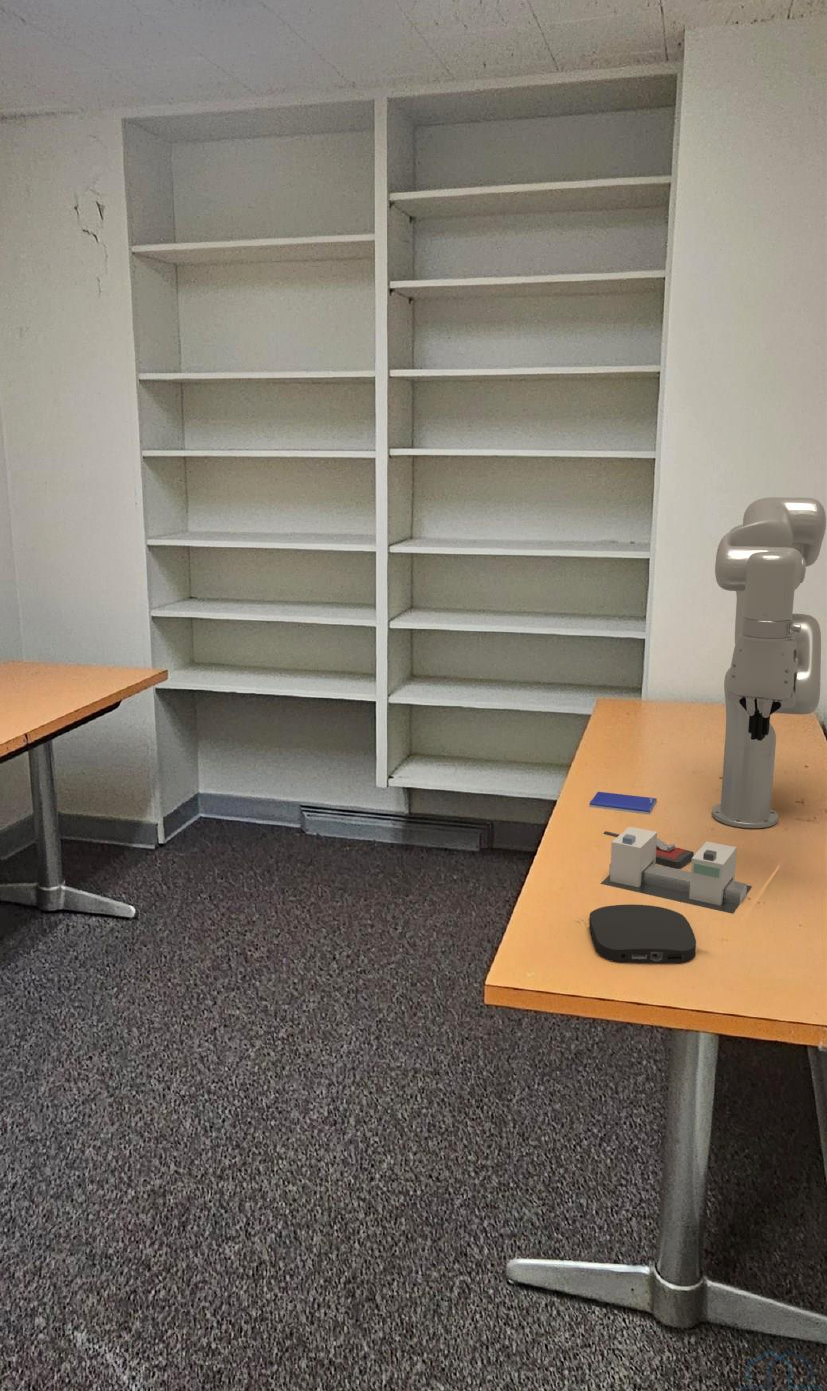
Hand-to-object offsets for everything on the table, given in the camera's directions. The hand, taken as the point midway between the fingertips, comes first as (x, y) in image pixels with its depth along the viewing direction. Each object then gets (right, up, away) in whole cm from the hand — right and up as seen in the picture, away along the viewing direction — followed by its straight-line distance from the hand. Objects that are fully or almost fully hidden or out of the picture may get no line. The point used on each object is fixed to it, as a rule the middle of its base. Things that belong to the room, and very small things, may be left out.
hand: (758, 738), depth 167 cm
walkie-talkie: (-15, -23, +16) cm, 32 cm away
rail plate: (-13, -26, +1) cm, 29 cm away
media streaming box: (-23, -30, -16) cm, 41 cm away
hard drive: (-13, -16, +43) cm, 48 cm away
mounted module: (-20, -24, +5) cm, 31 cm away
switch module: (-8, -25, -2) cm, 27 cm away
